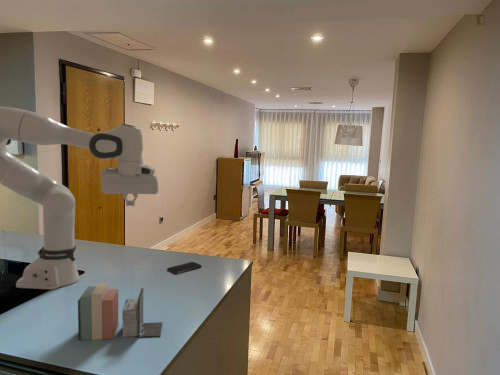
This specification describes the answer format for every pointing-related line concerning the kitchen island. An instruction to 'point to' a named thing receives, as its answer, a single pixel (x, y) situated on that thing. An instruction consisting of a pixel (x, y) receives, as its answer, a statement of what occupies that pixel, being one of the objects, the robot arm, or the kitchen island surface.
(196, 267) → the phone
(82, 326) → the books
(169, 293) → the kitchen island surface
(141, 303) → the bookends
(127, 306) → the medicine box
